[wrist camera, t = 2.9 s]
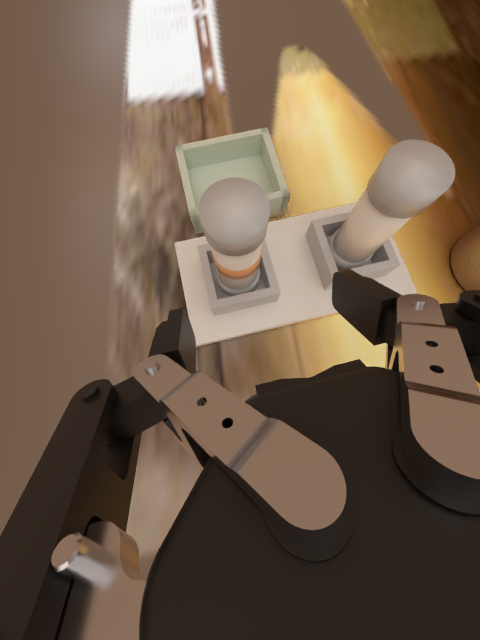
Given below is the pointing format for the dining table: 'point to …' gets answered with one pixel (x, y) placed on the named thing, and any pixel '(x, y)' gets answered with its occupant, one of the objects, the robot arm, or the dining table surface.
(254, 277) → the ball
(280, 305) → the fuse board
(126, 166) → the dining table surface
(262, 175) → the parts tray
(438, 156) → the fuse
